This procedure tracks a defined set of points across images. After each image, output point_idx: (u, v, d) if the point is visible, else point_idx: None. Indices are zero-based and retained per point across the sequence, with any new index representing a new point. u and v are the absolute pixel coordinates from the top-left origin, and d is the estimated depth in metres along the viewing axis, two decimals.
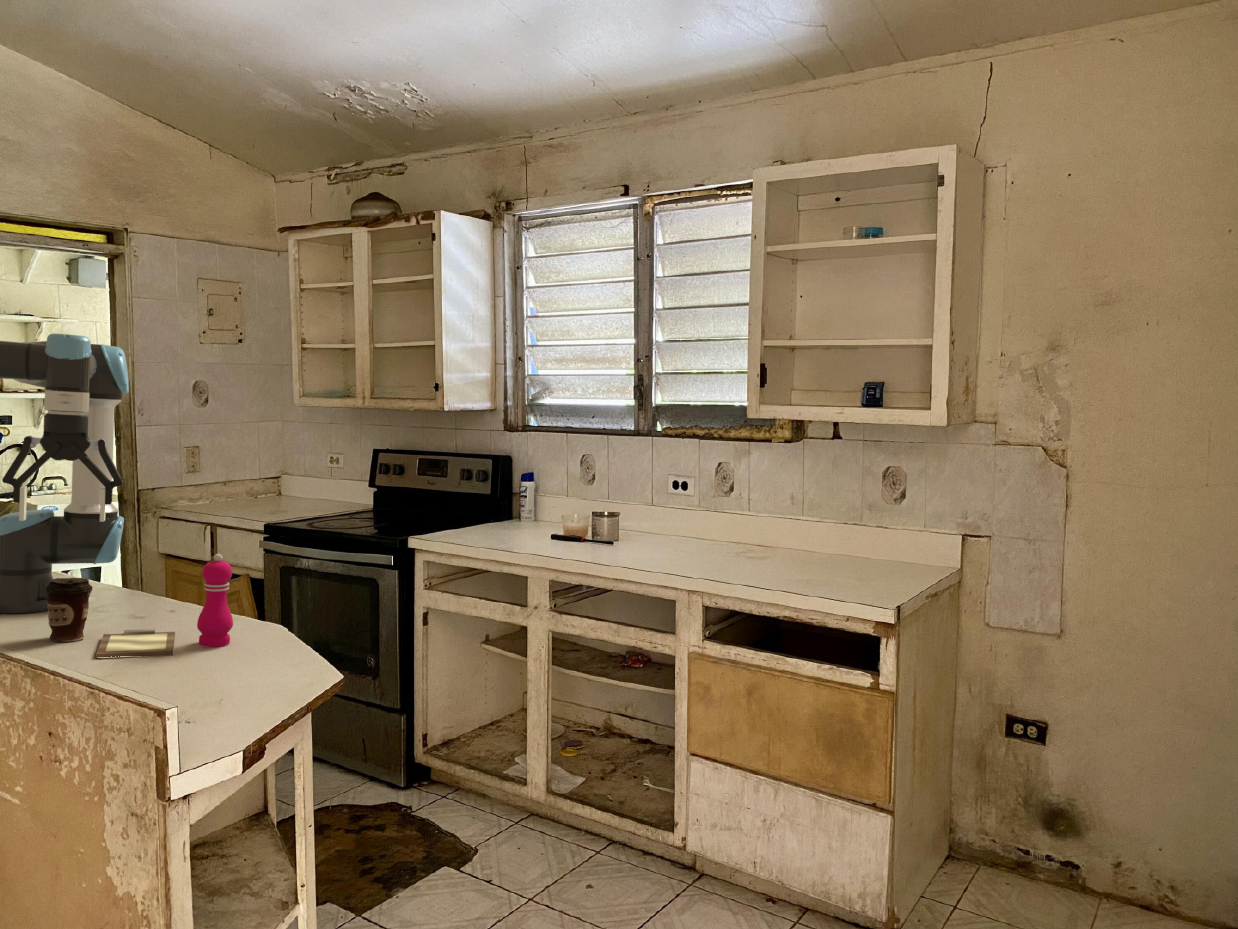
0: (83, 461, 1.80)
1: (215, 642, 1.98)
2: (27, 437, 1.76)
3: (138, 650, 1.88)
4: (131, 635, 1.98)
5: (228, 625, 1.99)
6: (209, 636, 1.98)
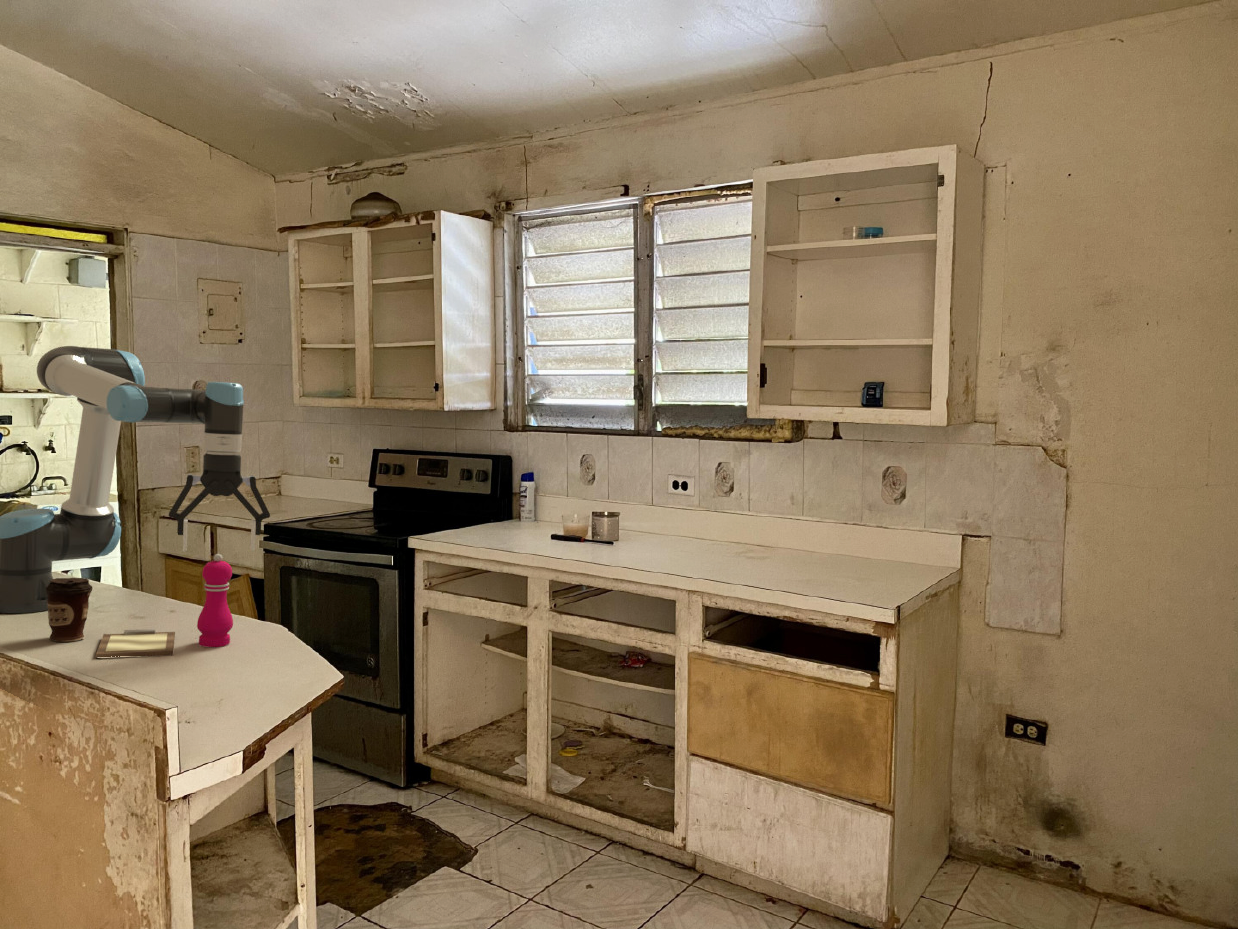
0: (237, 496, 1.98)
1: (215, 642, 1.98)
2: (190, 475, 1.94)
3: (138, 650, 1.88)
4: (131, 635, 1.98)
5: (228, 625, 1.99)
6: (209, 636, 1.98)
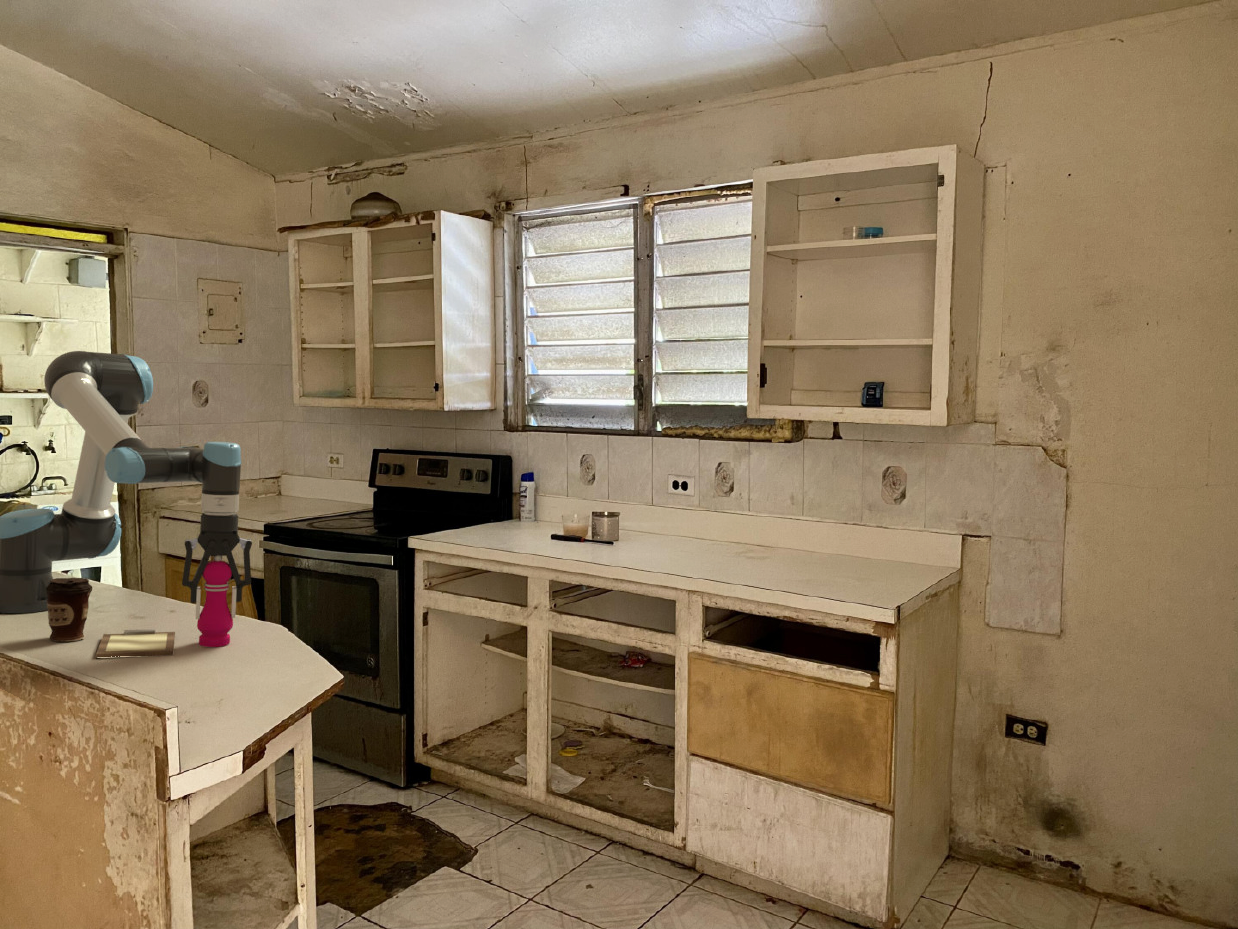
0: (228, 558, 1.99)
1: (215, 642, 1.98)
2: (186, 542, 1.95)
3: (138, 650, 1.88)
4: (131, 635, 1.98)
5: (228, 625, 1.99)
6: (209, 636, 1.98)
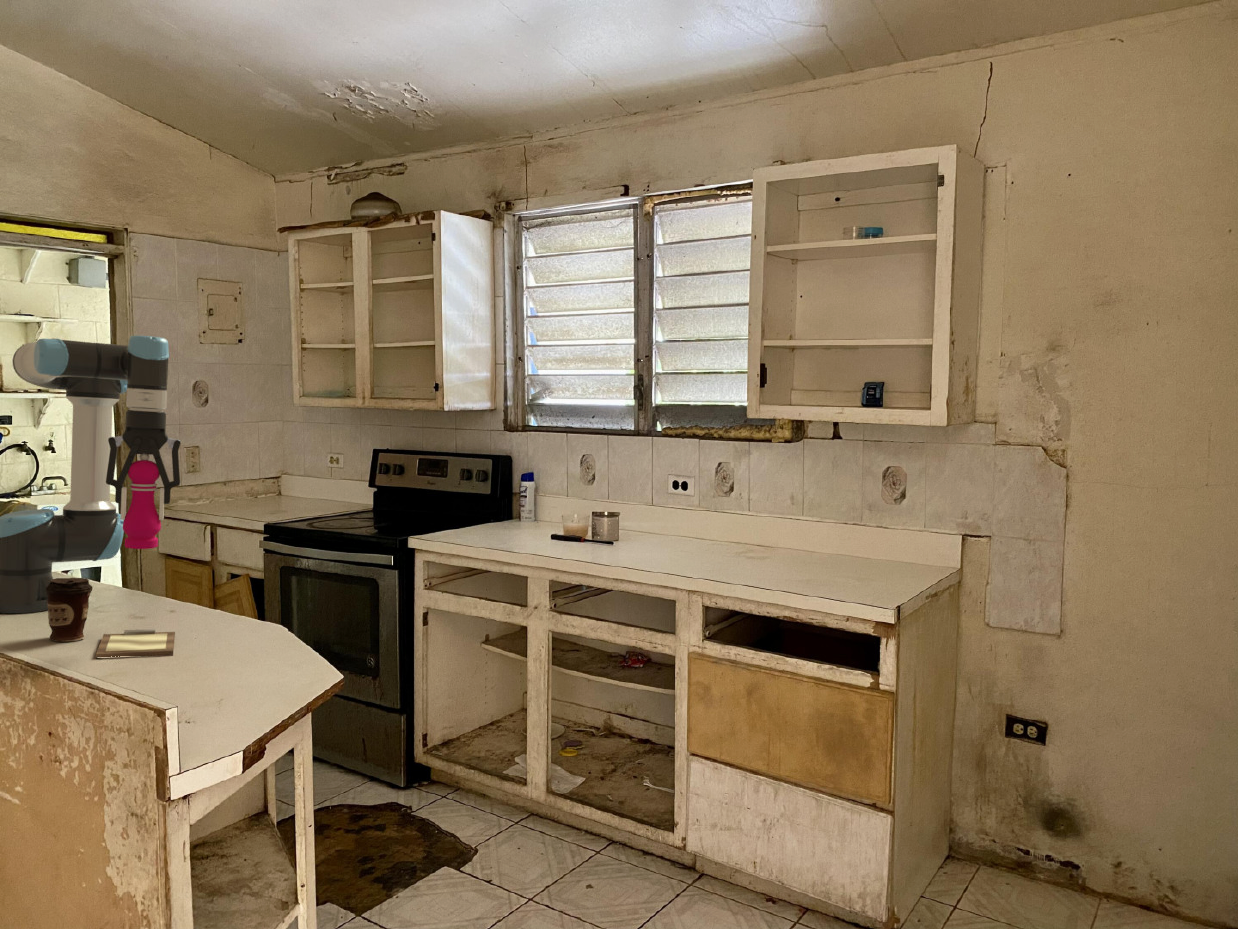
0: (155, 457, 1.91)
1: (141, 544, 1.90)
2: (110, 438, 1.88)
3: (138, 650, 1.88)
4: (131, 635, 1.98)
5: (155, 526, 1.91)
6: (134, 538, 1.90)
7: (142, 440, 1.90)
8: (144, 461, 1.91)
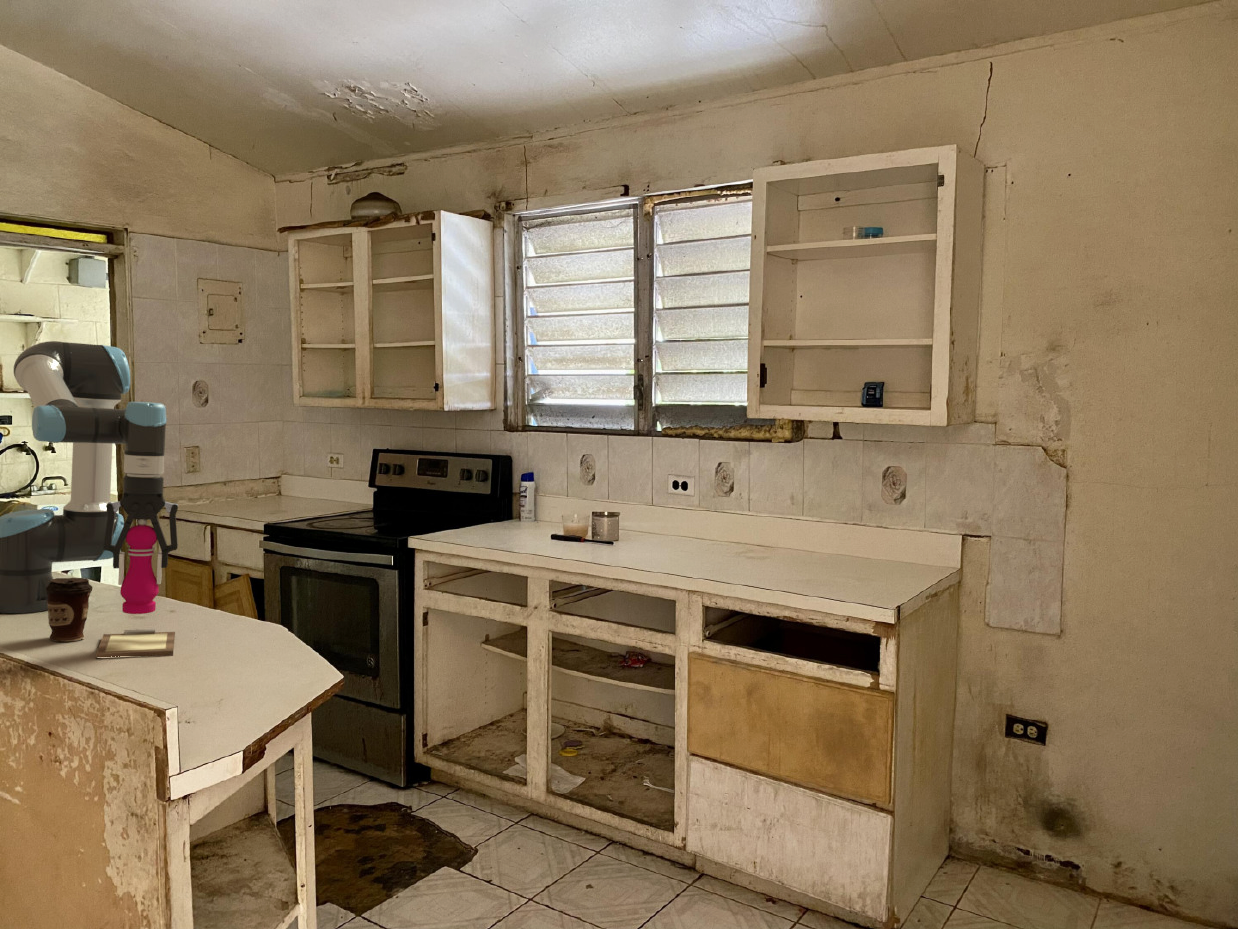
0: (153, 522, 1.92)
1: (139, 609, 1.91)
2: (108, 504, 1.89)
3: (138, 650, 1.88)
4: (131, 635, 1.98)
5: (153, 591, 1.92)
6: (132, 603, 1.91)
7: (140, 505, 1.91)
8: (142, 526, 1.91)
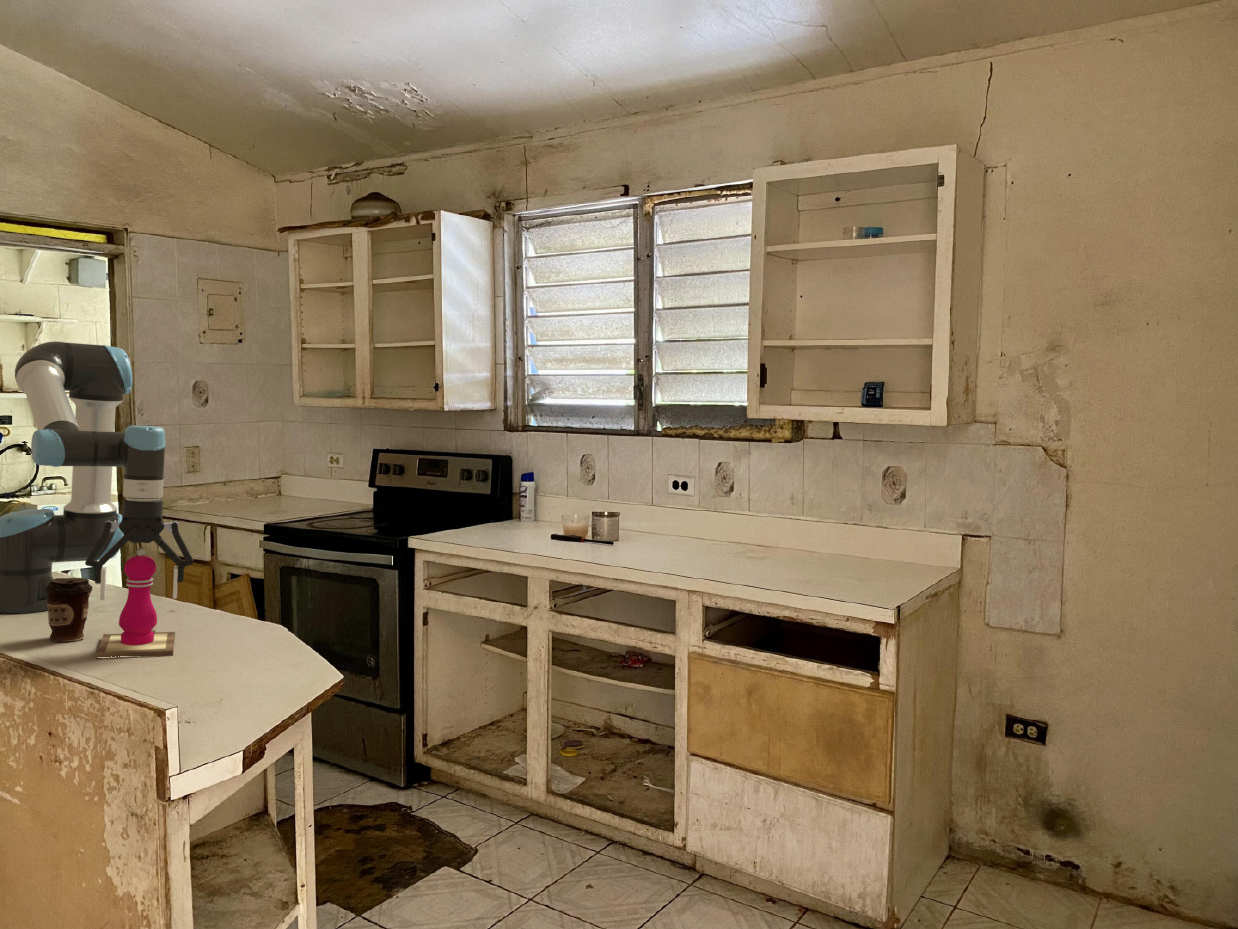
0: (158, 543, 1.93)
1: (137, 640, 1.91)
2: (108, 523, 1.89)
3: (138, 650, 1.88)
4: None
5: (151, 622, 1.93)
6: (130, 634, 1.91)
7: (138, 530, 1.91)
8: (140, 557, 1.92)
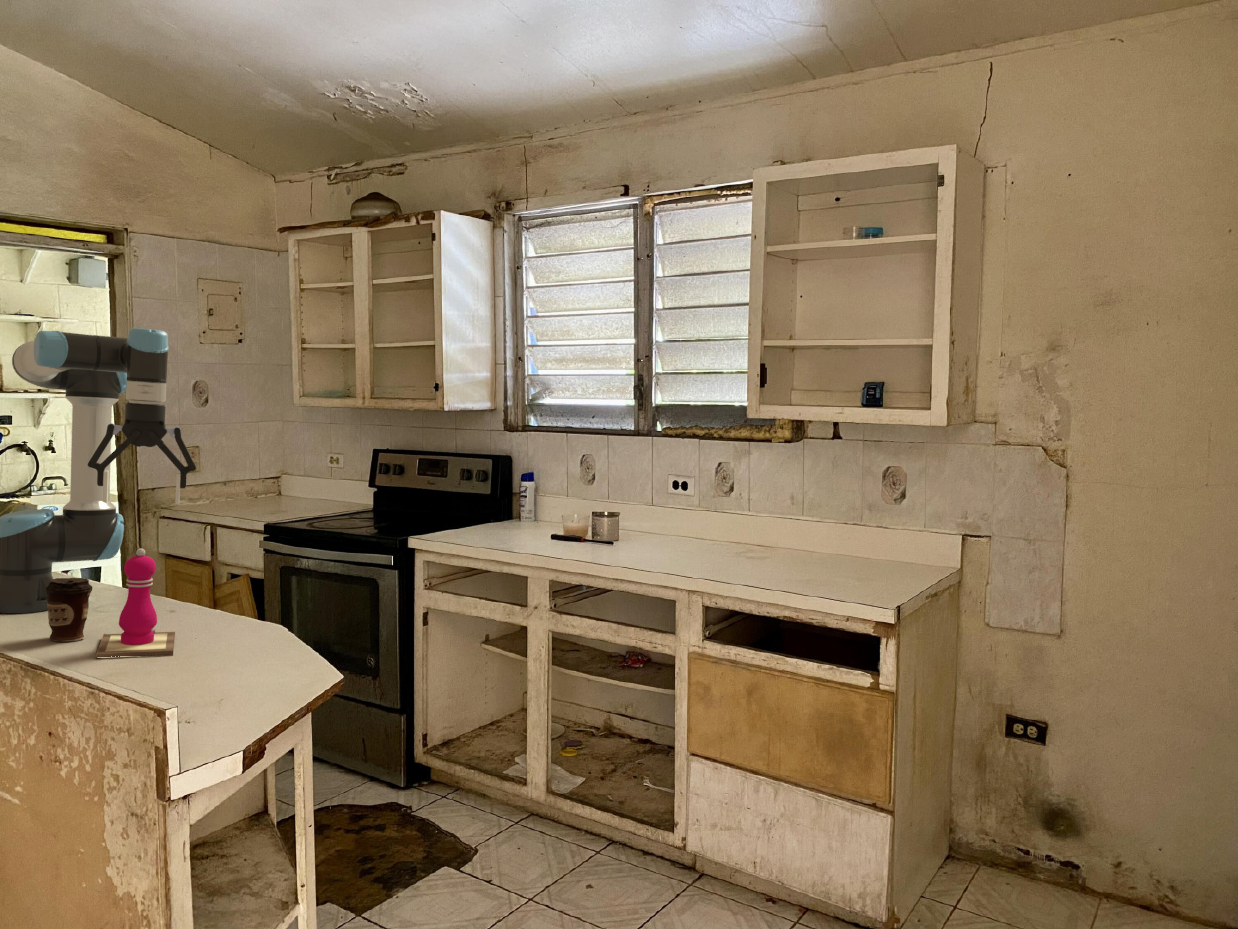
0: (161, 447, 1.92)
1: (137, 640, 1.91)
2: (110, 424, 1.88)
3: (138, 650, 1.88)
4: None
5: (151, 622, 1.93)
6: (130, 634, 1.91)
7: (141, 434, 1.91)
8: (140, 557, 1.92)
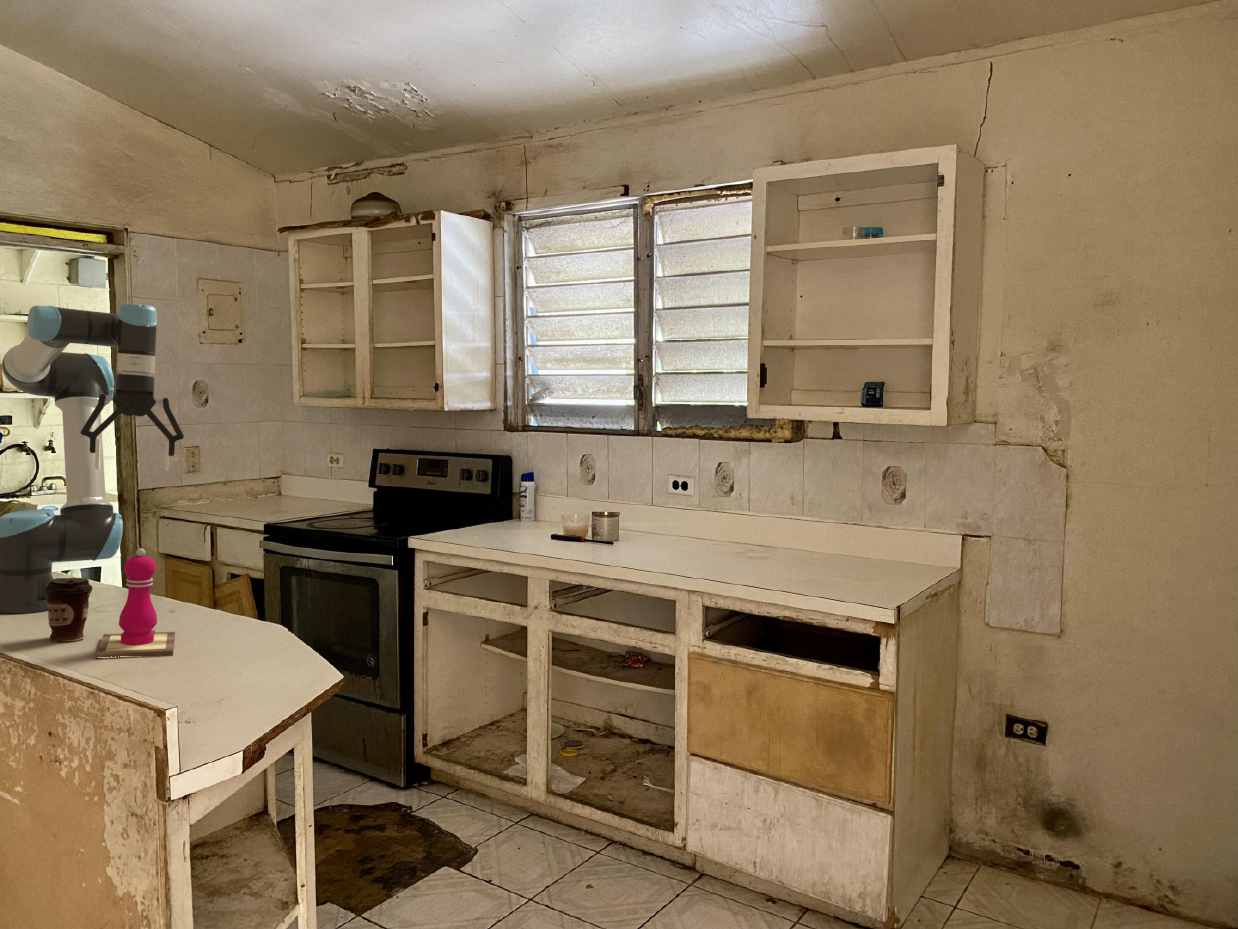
0: (150, 417, 2.03)
1: (137, 640, 1.91)
2: (102, 394, 1.99)
3: (138, 650, 1.88)
4: None
5: (151, 622, 1.93)
6: (130, 634, 1.91)
7: (131, 404, 2.01)
8: (140, 557, 1.92)
